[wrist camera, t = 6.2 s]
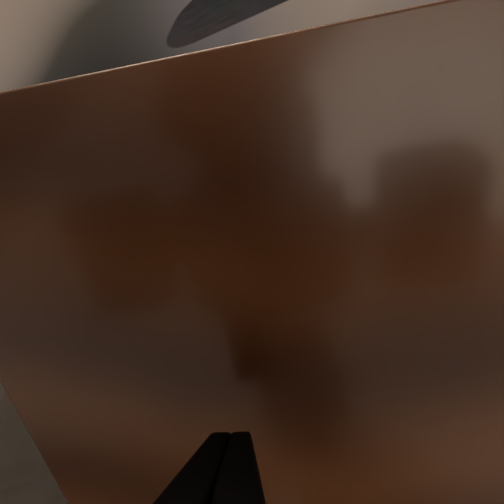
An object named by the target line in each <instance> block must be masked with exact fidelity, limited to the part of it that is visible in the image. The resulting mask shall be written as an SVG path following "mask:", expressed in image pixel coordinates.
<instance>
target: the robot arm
mask: <svg viewBox="0 0 504 504" xmlns="http://www.w3.org/2000/svg"><path fill="white" fill-rule="evenodd" d="M153 504H266V501H265V496H264V491H263V487H262V482H261V478H260V473H259V469H258V464H257V459H256V455H255V450H254V446H253V441H252V436H251V433H250V432H249V431H240V432H233V433H232V434H231V433H230V432H213V433H212V434H210V435H209V436H208V438H207V439H206V440H205V441H204V442H203V444H202V445H201V446H200V447H199V448H198V450H197V451H196V452H195V453H194V454H193V456H192V457H191V458H190V459H189V460H188V462H187V463H186V464H185V465H184V466H183V468H182V469H181V470H180V471H179V472H178V474H177V475H176V476H175V477H174V479H173V480H172V481H171V482H170V483H169V485H168V486H167V487H166V488H165V489H164V491H163V492H162V493H161V494H160V495H159V497H158V498H157V499H156V500H155V501H154V503H153Z"/></svg>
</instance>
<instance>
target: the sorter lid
mask: <svg viewBox="0 0 504 504" xmlns="http://www.w3.org/2000/svg"><path fill="white" fill-rule="evenodd" d="M0 381H1V383H2V385H3V386H4V388H5V390H6V392H7V393H8V395H9V397H10V399H11V401H12V402H13V404H14V406H15V408H16V410H17V411H18V413H19V415H20V417H21V419H22V420H23V422H24V424H25V426H26V428H27V429H28V431H29V433H30V435H31V437H32V438H33V440H34V442H35V444H36V446H37V447H38V449H39V451H40V453H41V455H42V456H43V458H44V460H45V462H46V463H47V465H48V467H49V469H50V471H51V472H52V474H53V476H54V478H55V480H56V481H57V483H58V485H59V487H60V489H61V490H62V492H63V494H64V496H65V498H66V499H67V501H68V503H69V504H153V503H154V501H155V500H156V499H157V498H158V497H159V495H160V494H161V493H162V492H163V491H164V489H165V488H166V487H167V486H168V485H169V483H170V482H171V481H172V480H173V479H174V477H175V476H176V475H177V474H178V472H179V471H180V470H181V469H182V468H183V466H184V465H185V464H186V463H187V462H188V460H189V459H190V458H191V457H192V456H193V454H194V453H195V452H196V451H197V450H198V448H199V447H200V446H201V445H202V444H203V442H204V441H205V440H206V439H207V438H208V436H209V435H210V434H212V433H213V432H230V433H231V434H232V433H233V432H240V431H249V432H250V433H251V436H252V441H253V446H254V450H255V455H256V459H257V464H258V469H259V473H260V478H261V482H262V487H263V491H264V496H265V501H266V504H504V0H442V1H437V2H432V3H428V4H423V5H418V6H413V7H408V8H403V9H398V10H394V11H389V12H384V13H379V14H374V15H369V16H365V17H360V18H355V19H350V20H346V21H340V22H336V23H331V24H326V25H322V26H316V27H311V28H307V29H302V30H297V31H292V32H287V33H282V34H278V35H273V36H268V37H263V38H258V39H253V40H249V41H244V42H239V43H234V44H230V45H224V46H220V47H215V48H210V49H206V50H200V51H195V52H191V53H186V54H181V55H176V56H171V57H167V58H162V59H157V60H152V61H147V62H143V63H138V64H133V65H128V66H123V67H118V68H113V69H108V70H104V71H99V72H94V73H90V74H84V75H79V76H75V77H70V78H65V79H60V80H55V81H51V82H46V83H41V84H36V85H31V86H26V87H22V88H17V89H12V90H7V91H2V92H0Z"/></svg>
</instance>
